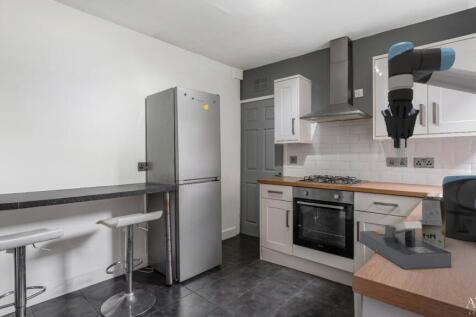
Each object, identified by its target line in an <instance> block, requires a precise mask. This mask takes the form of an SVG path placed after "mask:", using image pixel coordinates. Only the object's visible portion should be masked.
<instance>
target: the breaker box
mask: <svg viewBox="0 0 476 317" xmlns="http://www.w3.org/2000/svg"><path fill="white" fill-rule="evenodd" d="M384 227H385V235H383V234H382V231H381V230H378V229H377V230H362V231H361V230H360V231H359V243H360V244H362V245H364V246H366V248H368V249H370V250H371V251H374V252H375V253H376V254H378V255H380V256H381V257H384V258H385V259H386V260H388V261H390V262H391V263H393V264H395V265H396V266H398V267H399V268H401V269H403V270H419V269H422V270H423V269H435V268H437V269H441V268H452V252H450V251H446V250H447V249H445V248H442V249H441V248H439V247H436V246H434V245H432V244H429V243H427V242H424V241H422V239H421V238H418V237H416V229H415V230H411V231H407V232H403V233H399V234H395V227H393V226H391V225H390V224H385V225H384ZM415 237H416V238H415ZM417 238H418V239H417ZM420 239H421V240H420ZM444 249H445V250H444ZM376 250H377V251H376Z"/></svg>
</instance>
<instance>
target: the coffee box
mask: <svg viewBox="0 0 476 317" xmlns="http://www.w3.org/2000/svg"><path fill="white" fill-rule="evenodd" d="M421 200H422V201H421V204H422V205H421V226H422V228H421V240H423V241H425V242H428V243H430V244H433V245H435V246H438V247H440V248H442V249H445V244H446V236H445V210H446V204H445V198H444V197H443V196H429V195H427V196H426V195H425V196H423V197H422V199H421Z"/></svg>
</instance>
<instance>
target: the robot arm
mask: <svg viewBox="0 0 476 317" xmlns="http://www.w3.org/2000/svg"><path fill="white" fill-rule="evenodd" d="M455 61H456V52H455V50H454V49H453V48H452V47H442V46H441V47H431V48H421V49H420V48H419V49H418V48H417V49H416V48H415V46H414V43H413V42H409V41H403V42H398V43H396V44H393V45H392V46H391V47H390V48H389V49H388V53H387V90H388V92H387V102H388V105H387V108H385V109H383V110H381V111H380V113H381V115H382V117H383V120H384V125H385V129H386V132H387V137H389V138H391V139H392V140H393V148H394V149H395V158H396V159H397V158H400V159H404V158H406V149H407V146H408V145H407V142H408V139H409V138H411V137H413V136H414V131H415V126H416V123H417V122H416V121H417V119H418V118H417V117H418V116H419V114H420V109H416V108H414V104H413V99H414V89H413V88H414V83H417V84H421V85H428V86H433V87H438V88H442V89H446V90H447V89H449V90H452V91H458V92H462V93H468V94H472V95H476V71H474V70H473V71H472V70H469V69H467V70H466V69H461V68H456V67H453V65H454V64H455ZM441 186H442V197H444V198H445V204H446V210H445V237H448V238H452V239H456V240H461V241H469V242H476V174H475V175H472V174H471V175H469V174H468V175H467V174H466V175H465V174H464V175H463V174H462V175H461V174H460V175H446V176H444V177H443V178H442V185H441Z"/></svg>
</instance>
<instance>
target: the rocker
mask: <svg viewBox="0 0 476 317" xmlns="http://www.w3.org/2000/svg"><path fill="white" fill-rule="evenodd" d="M390 226H393V227H395V234H399V233H405V232H407V231H411V230H415V231H416V230H419V229H422V222H421V221H419V220H417V221H402V222H399V223H398V222H397V223H395V224H392V225H390ZM380 229H381V231H382V234H383V235H385V226H383V227H380Z"/></svg>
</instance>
